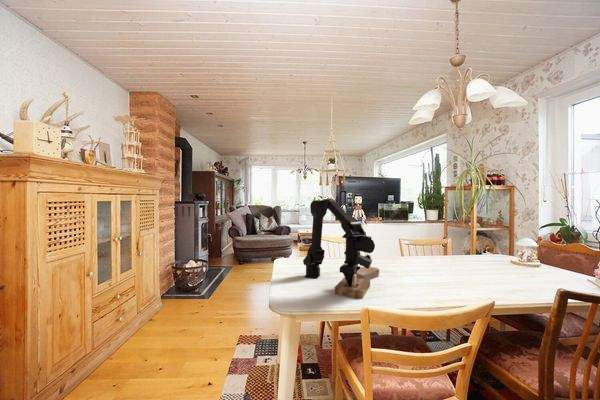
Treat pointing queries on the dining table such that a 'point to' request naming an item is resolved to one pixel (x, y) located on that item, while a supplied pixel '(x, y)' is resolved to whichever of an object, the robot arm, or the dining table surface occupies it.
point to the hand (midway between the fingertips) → (351, 284)
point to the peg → (353, 282)
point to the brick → (367, 273)
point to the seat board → (352, 288)
